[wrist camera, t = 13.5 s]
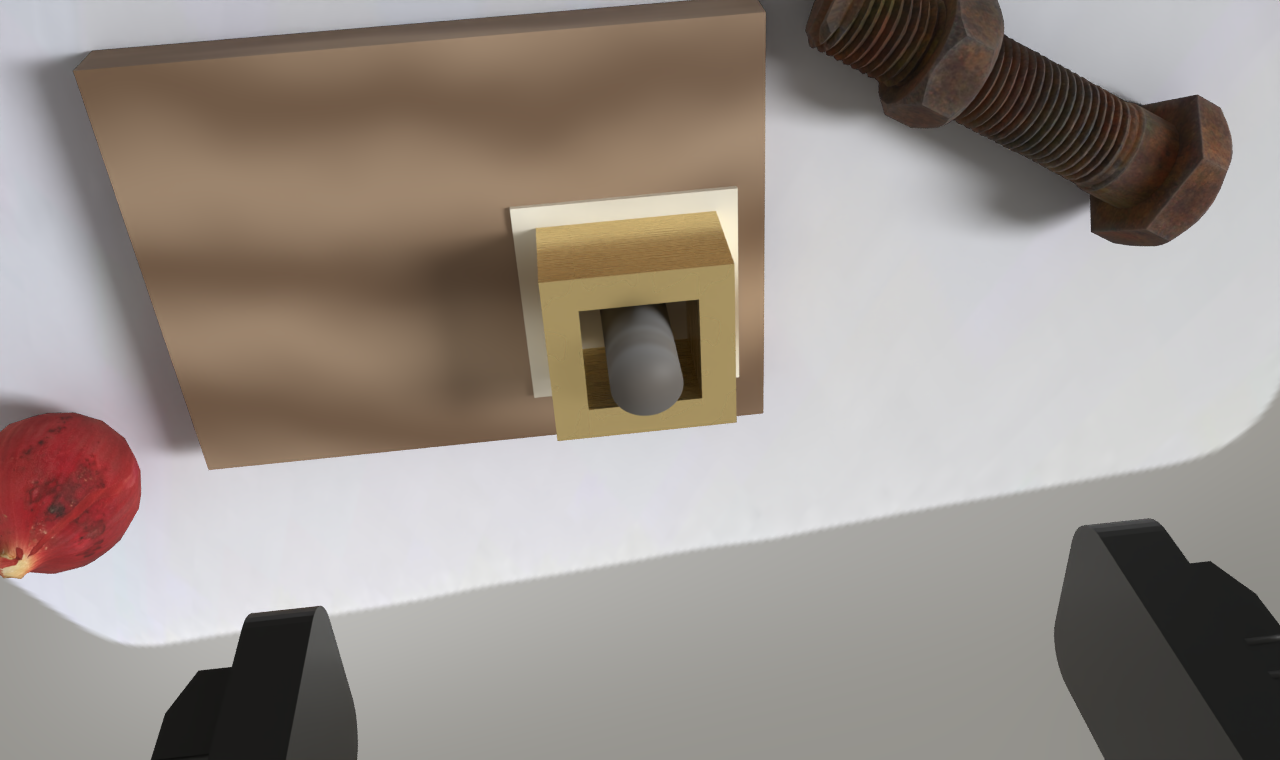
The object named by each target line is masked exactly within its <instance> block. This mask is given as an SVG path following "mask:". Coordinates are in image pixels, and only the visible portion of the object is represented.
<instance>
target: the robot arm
mask: <svg viewBox="0 0 1280 760" xmlns="http://www.w3.org/2000/svg"><path fill="white" fill-rule="evenodd" d="M1054 642H1055V650H1056V656H1057V660H1058V665H1059V668H1060V671H1061V674H1062V677H1063V680H1064V682H1065V684H1066V686H1067V688H1068V690H1069V692H1070V694H1071V696H1072V697H1073V699H1074V701H1075V703H1076V705H1077V707H1078V709H1079V711H1080V713H1081V715H1082V717H1083V718H1084V720H1085V722H1086V724H1087V726H1088V728H1089V730H1090V732H1091V734H1092V736H1093V737H1094V739H1095V741H1096V743H1097V745H1098V747H1099V749H1100V751H1101V753H1102V755H1103V757H1104V758H1105V760H1280V625H1279V623H1278V622H1277V621H1276V620H1275V618H1274V617H1273V616H1272V614H1271V613H1270V612H1269V611H1268V609H1267V608H1266V607H1265V605H1264V604H1263V603H1262V601H1261V600H1260V599H1259V597H1258V596H1257V595H1256V594H1255V593H1254V592H1253V591H1251V590H1250V589H1248V588H1247V587H1246V586H1244V585H1243V584H1241V583H1240V582H1238V581H1237V580H1236V579H1234V578H1233V577H1232V576H1230V575H1229V574H1227V573H1226V572H1225V571H1223V570H1222V569H1220V568H1219V567H1218V566H1216V565H1215V564H1213V563H1212V562H1211V561H1208V562H1199V563H1189V562H1188V561H1187V559H1186V558H1185V556H1184V555H1183V554H1182V552H1181V551H1180V549H1179V548H1178V547H1177V545H1176V544H1175V542H1174V541H1173V540H1172V538H1171V537H1170V535H1169V534H1168V533H1167V531H1166V530H1165V529H1164V527H1163V526H1162V525H1160V523H1158V522H1157V521H1155V520H1154V519H1149V518H1148V519H1139V520H1130V521H1121V522H1112V523H1103V524H1093V525H1084V526H1081V527H1079V528H1078V529H1077V531H1076V532H1075V534H1074V536H1073V540H1072V544H1071V549H1070V554H1069V559H1068V563H1067V568H1066V573H1065V578H1064V582H1063V587H1062V592H1061V597H1060V602H1059V606H1058V611H1057V616H1056V621H1055V627H1054ZM357 752H358V735H357V721H356V713H355V707H354V702H353V698H352V695H351V691H350V688H349V684H348V681H347V678H346V674H345V671H344V667H343V664H342V661H341V657H340V654H339V650H338V647H337V643H336V640H335V636H334V633H333V630H332V626H331V623H330V619H329V616H328V614H327V612H326V610H325V608H324V607H322V606H315V607H306V608H297V609H288V610H278V611H269V612H260V613H251V614H249V615H248V616H247V618H246V619H245V621H244V624H243V627H242V630H241V634H240V638H239V642H238V646H237V649H236V654H235V657H234V661H233V665H232V667H228V668H219V669H210V670H201V671H198V672H197V673H196V675H195V676H194V677H193V679H192V680H191V681H190V682H189V684H188V685H187V686H186V688H185V689H184V690H183V691H182V693H181V694H180V695H179V697H178V698H177V699H176V700H175V702H174V703H173V704H172V706H171V707H170V708H169V710H168V711H167V712H166V713H165V716H164V719H163V723H162V726H161V729H160V732H159V735H158V739H157V742H156V745H155V748H154V751H153V755H152V758H151V760H357Z"/></svg>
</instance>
